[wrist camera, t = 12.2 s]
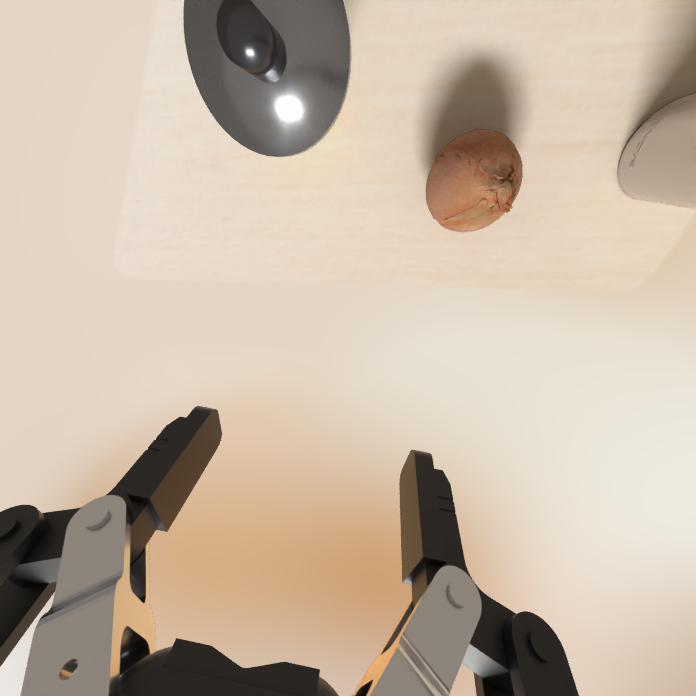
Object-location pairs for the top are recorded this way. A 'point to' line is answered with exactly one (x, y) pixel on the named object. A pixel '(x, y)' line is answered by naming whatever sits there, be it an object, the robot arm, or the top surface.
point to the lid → (270, 68)
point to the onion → (474, 181)
